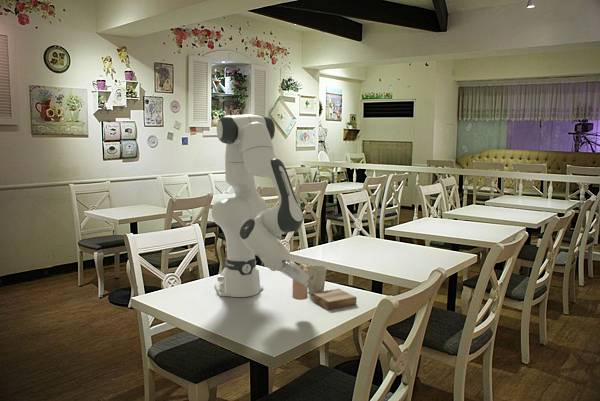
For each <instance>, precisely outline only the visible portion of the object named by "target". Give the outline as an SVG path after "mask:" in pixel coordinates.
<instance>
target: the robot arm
mask: <svg viewBox="0 0 600 401" xmlns="http://www.w3.org/2000/svg"><path fill="white" fill-rule="evenodd" d="M216 124H217V125H216V134H217V139H218V140H219V141H220V142H221V143H222V144H225V156H224V160H225V162H224V164H225V165H224V166H225V167H224V168H225V171H224V172H225V181H226V183H227V185H228V186H231V188H232V189H233V191H234V194H235V197H228V198H223V199H221V200H218V201H216V202H215V203H214V204H212V207H211V218H212V221H213V222H214V223H215V224H216V225H217V226H219V228H221V230H222V232H223V234H224V237H225V243H226V259H225V264H224V265H225V267H224V268H223V269H222V271H221V272H220V273H219V275H217V282H216V283H214V288H215V291H217V294H218V296H219V297H220V296H221V297H231V298H247V297H253V296H255V295H257V294H259V293H260V292H261V291H262V290H264V287H263V285H261V280H260V271H259V269H258V268H257V267H256V266H257V260H256V256H257V257H258V258H259V259H260V261H261V262H262V263H263V264H264V265H265V266H266V267H267V268H268V269H269V270H270V271H273V272H276V271H277V272H280V273H282V274H283V275H285V276H287V277H288V278H290V279H292V280H293V279H294V280H295V281H297V282H299V283H300V284H302V285H303V286H305V287H306V286H307V285H308V284H309V283H308V282H307V281H308V279H309V276H308V274H307V273H305V272H304V271H303V270H302V269H301V268H300V267H299V265H298V264H297V263H295V262H294V261H291V252H290V251H289V250H288V249H287V248H286V246H285V245H284V244H283V243H281V242H280V241H279V240H278V237H279V236H281V235H284V234H289V233H293V232H298V230H300V228H301V227H302V225H303V221H304V214H303V210H302V208H301V206H300V205H299V204H300V203H298V201H297V197H296V195H295V192H294V189H293V185H292V183H291V180H290V177H289V174H288V171H287V168H286V167H285V164H284V163H283V162H282V160H281V159H279V158H277V157H276V154H275V151H274V146H273V141H272V140H273V139H274V137H275V133H276V126H275V122H274V120H273V119H272V118H271V117H269V116H267V115H256V114H239V115H238V114H237V115H224V116H221V117H220V118H219V119H218V120H217V123H216ZM255 176H256V177H259V178H270V179H271V180H272V182H273V185H274V188H275V191H276V194H277V198H278V203H277V205H276V206H275V205H274V206H273V207H271V208H268V205H267V202H266V200H265V199H264V198H263V197H262V196H261V194H260V193H259V191H258V189H257V186H256V183H255Z"/></svg>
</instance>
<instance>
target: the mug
mask: <svg viewBox="0 0 600 401" xmlns="http://www.w3.org/2000/svg"><path fill="white" fill-rule="evenodd" d="M305 268H307V269H308V276H309V279H308V283H309V284H308V293H309V294H310V295H311V294H312V295H313V293H316V292H322V291H325V284H326V276H327V267H326V266H322V265H309V266H306V267H305Z"/></svg>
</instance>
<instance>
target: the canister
mask: <svg viewBox="0 0 600 401" xmlns="http://www.w3.org/2000/svg"><path fill="white" fill-rule="evenodd" d="M298 266H299V267H300V268H301V269H302V270H303V271H304V272H305V273H307V274H308V269H307V268H306V267H305V266H304V265H300V264H299V265H298ZM307 282H308V281H307ZM308 293H309V291H308V285H307V286H306V287H305V286H303V285H302V284H300V283H299V282H297V281H295V280H294V279H292V298H293V300H298V301H302V300H306V299H308Z"/></svg>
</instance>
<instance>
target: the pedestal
mask: <svg viewBox="0 0 600 401" xmlns="http://www.w3.org/2000/svg"><path fill="white" fill-rule="evenodd" d="M312 302H314V303H316V304H318V305H319V306H321V307H323V308H325V309H326V310H328V311H332V310H336V309H342V308H348V307H351V306H357V296H355V295H354V294H351V293H349V292H347V291H345V290H343V289H340V288H336V289H329V290H328V289H327V290H324V291H322V292H316V293H313V294H312Z"/></svg>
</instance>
